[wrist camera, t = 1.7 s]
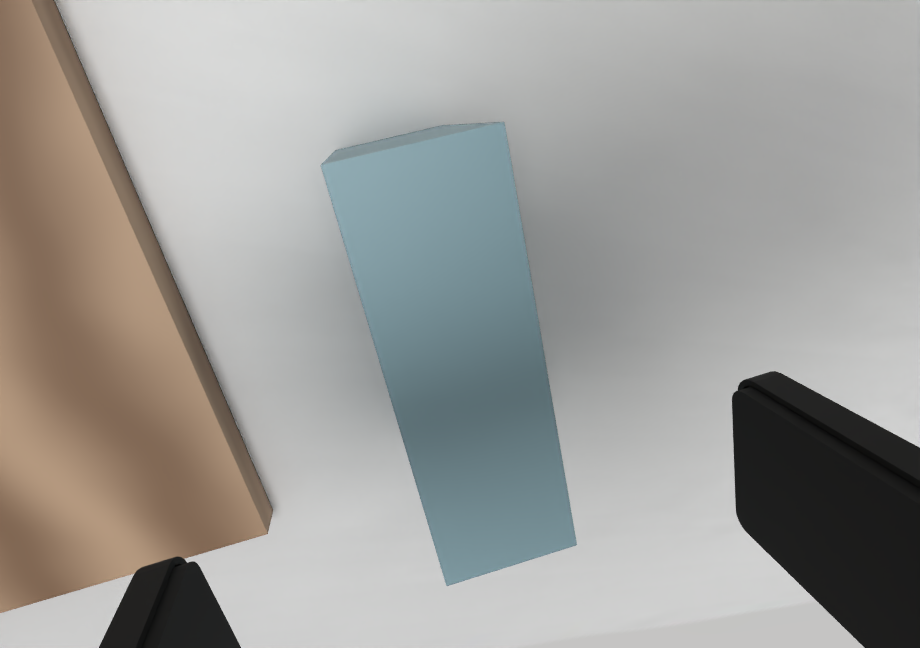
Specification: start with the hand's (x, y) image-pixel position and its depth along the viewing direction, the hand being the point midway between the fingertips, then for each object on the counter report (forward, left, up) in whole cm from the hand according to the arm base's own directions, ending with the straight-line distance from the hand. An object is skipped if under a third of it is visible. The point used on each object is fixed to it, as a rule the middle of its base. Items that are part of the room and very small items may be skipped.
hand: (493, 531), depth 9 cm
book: (-1, 0, -14) cm, 14 cm away
